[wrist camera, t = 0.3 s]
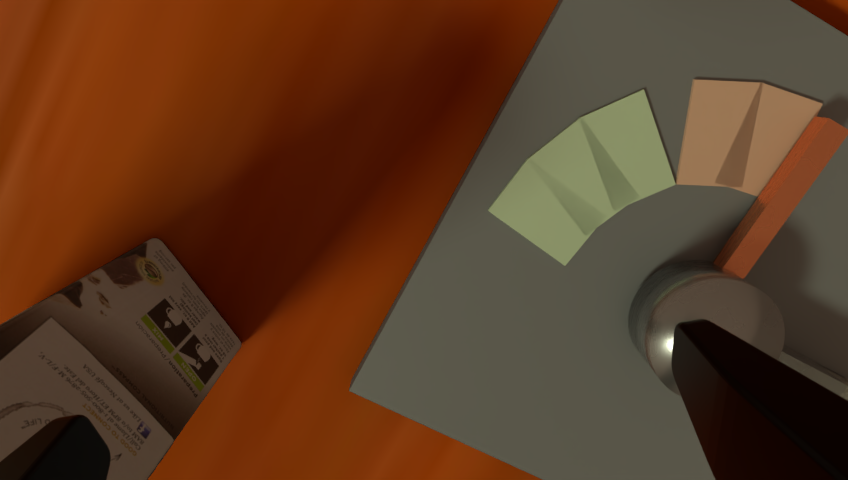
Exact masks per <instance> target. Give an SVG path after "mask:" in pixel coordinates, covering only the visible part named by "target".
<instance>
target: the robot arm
mask: <svg viewBox="0 0 848 480" xmlns="http://www.w3.org/2000/svg"><path fill="white" fill-rule="evenodd" d="M671 367H672V373H673V377H674V380H675V382H676V385H677V387H678V390H679V392H680V395H681V397H682V400H683V402H684V405H685V407H686V410H687V412H688V415H689V417H690V420H691V422H692V425H693V427H694V430H695V432H696V435H697V437H698V440H699V442H700V445H701V447H702V450H703V452H704V455H705V457H706V460H707V462H708V464H709V467H710V469H711V471H712V474H713V476H714V478H715V480H848V400H846V399H844V398H843V397H841V396H839V395H838V394H836V393H834V392H832V391H831V390H829V389H827V388H825V387H824V386H822V385H820V384H819V383H817V382H815V381H813V380H812V379H810V378H808V377H806V376H805V375H803V374H801V373H800V372H798V371H796V370H794V369H793V368H791V367H789V366H787V365H786V364H784V363H782V362H780V361H779V360H777V359H775V358H774V357H772V356H770V355H768V354H767V353H765V352H763V351H761V350H760V349H758V348H756V347H755V346H753V345H751V344H749V343H748V342H746V341H744V340H742V339H741V338H739V337H737V336H736V335H734V334H732V333H730V332H729V331H727V330H725V329H723V328H722V327H720V326H718V325H717V324H715V323H713V322H711V321H709V320H707V319H696V320H689V321H683V322H679V323H678V324H677V325H676V326H675V329H674V338H673V349H672V360H671ZM110 462H111V455H110V450H109V447H108V445H107V444H106V442H105V441H104V440H103V438H102V437H101V435H100V434H99V432H98V431H97V430H96V428H95V427H94V425H93V424H92V422H91V421H90V420H89V418H88V417H86V416H84V415H80V414H78V415H71V416H64V417H59V418H56V419H53V420H52V421H50V422H49V423H48V424H46V425H45V426H44V427H43V428H41V429H40V430H39V431H38V432H37V433H35V434H34V435H33V436H32V437H30V438H29V439H28V440H27V441H25V442H24V443H23V444H22V445H20V446H19V447H18V448H17V449H15V450H14V451H13V452H12V453H10V454H9V455H8V456H7V457H5V458H4V459H3V460H2V461H0V480H107V476H108V472H109V467H110Z"/></svg>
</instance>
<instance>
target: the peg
mask: <svg viewBox="0 0 848 480" xmlns="http://www.w3.org/2000/svg"><path fill="white" fill-rule="evenodd" d="M847 135H848V129H847V128H845V127H843V126H842V125H840V124H838V123H837V122H835V121H833V120H831V119H830V118H824V117H814V118H813V120H812V121H811V122H810V124H809V125H808V127H807V128H806V130H805V131H804V132H803V134H802V135H801V137H800V138H799V140H798V141H797V142H796V144H795V145H794V147H793V148H792V150H791V151H790V152H789V154H788V155H787V157H786V158H785V160H784V161H783V162H782V164H781V165H780V167H779V168H778V170H777V171H776V172H775V174H774V175H773V177H772V178H771V180H770V181H769V182H768V184H767V185H766V187H765V188H764V190H763V191H762V193H761V194H760V195H759V197H758V198H757V200H756V201H755V203H754V204H753V205H752V207H751V208H750V210H749V211H748V213H747V214H746V215H745V217H744V218H743V220H742V221H741V223H740V224H739V225H738V227H737V228H736V230H735V231H734V233H733V234H732V235H731V237H730V238H729V240H728V241H727V243H726V244H725V245H724V247H723V248H722V250H721V251H720V253H719V254H718V255H717V257H716V258H715V260H714V261H713V262H710V261H704V260H687V261H682V262H677V263H674V264H672V265H669V266H667V267H665V268H663V269H661V270H659V271H658V272H656V273H655V274H653V275H652V276H651V277H650V278H649V279H648V280H647V281H646V282H645V283H644V284H643V285H642V286H641V287H640V289H639V290H638V292H637V293H636V295H635V297H634V299H633V301H632V303H631V306H630V310H629V316H628V328H629V334H630V337H631V340H632V342H633V344H634V346H635V347H636V349H637V350H638V352H639V353H640V354H641V356H642V357H643V358H644V360H645V361H646V362H647V363H648V365H649V366H650V367H651V369H652V370H653V371H654V373H655V374H656V375H657V376H658V378H659V379H660V380H661V382H662V383H663V384H664V385H665V386H666V387H667V388H668V389H670V390H671V391H672V392H674V393H675V394H677V395H679V396H681V395H680V392H679V390H678V387H677V385H676V382H675V380H674V377H673V373H672V367H671V360H672V349H673V338H674V329H675V326H676V325H677V324H678V323H679V322H683V321H689V320H696V319H707V320H709V321H711V322H713V323H715V324H717V325H718V326H720V327H722V328H723V329H725V330H727V331H729V332H730V333H732V334H734V335H736V336H737V337H739V338H741V339H742V340H744V341H746V342H748V343H749V344H751V345H753V346H755V347H756V348H758V349H760V350H761V351H763V352H765V353H767V354H768V355H770V356H772V357H774V358H775V359H777V360H779V361H780V362H782V363H784V364H786V365H787V366H789V367H791V368H793V369H794V370H796V371H798V372H800V373H801V374H803V375H805V376H806V377H808V378H810V379H812V380H813V381H815V382H817V383H819V384H820V385H822V386H824V387H825V388H827V389H829V390H831V391H832V392H834V393H836V394H838V395H839V396H841V397H843V398H844V399H846V400H848V379H847V378H845V377H843V376H841V375H839V374H838V373H836V372H834V371H832V370H830V369H828V368H826V367H824V366H822V365H820V364H819V363H817V362H815V361H813V360H811V359H809V358H807V357H805V356H803V355H801V354H799V353H798V352H796V351H794V350H792V349H790V348H788V347H786V346H784V340H785V327H784V322H783V318H782V315H781V313H780V310H779V309H778V307H777V305H776V304H775V303H774V302H773V300H772V299H771V298H770V297H769V296H768V295H766V294H765V293H764V292H762V291H761V290H759V289H758V288H756V287H755V286H753V285H752V284H750V283H748V282H747V281H745V280H744V278H745V277H746V275H747V274H748V272H749V271H750V270H751V268H752V267H753V266H754V264H755V263H756V261H757V260H758V259H759V257H760V256H761V254H762V253H763V252H764V250H765V249H766V248H767V246H768V245H769V243H770V242H771V241H772V239H773V238H774V236H775V235H776V234H777V232H778V231H779V230H780V228H781V227H782V225H783V224H784V223H785V221H786V220H787V218H788V217H789V216H790V214H791V213H792V212H793V210H794V209H795V207H796V206H797V205H798V203H799V202H800V200H801V199H802V198H803V196H804V195H805V194H806V192H807V191H808V189H809V188H810V187H811V185H812V184H813V182H814V181H815V180H816V178H817V177H818V176H819V174H820V173H821V171H822V170H823V169H824V167H825V166H826V164H827V163H828V162H829V160H830V159H831V158H832V156H833V155H834V153H835V152H836V151H837V149H838V148H839V146H840V145H841V144H842V142H843V141H844V140H845V138H846V137H847Z"/></svg>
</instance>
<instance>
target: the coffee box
mask: <svg viewBox="0 0 848 480" xmlns="http://www.w3.org/2000/svg"><path fill="white" fill-rule="evenodd" d="M240 347H241V342H240V340H239V339H238V337H237V336H236V335H235V334H234V332H233V331H232V330H231V329H230V327H229V326H228V324H227V323H226V322H225V321H224V319H223V318H222V317H221V316H220V314H219V313H218V312H217V311H216V309H215V308H214V307H213V305H212V304H211V303H210V301H209V300H208V299H207V298H206V296H205V295H204V294H203V293H202V291H201V290H200V289H199V287H198V286H197V285H196V284H195V282H194V281H193V280H192V279H191V277H190V276H189V275H188V273H187V272H186V271H185V269H184V268H183V267H182V266H181V264H180V263H179V262H178V261H177V259H176V258H175V257H174V256H173V254H172V253H171V252H170V251H169V249H168V248H167V247H166V246H165V244H164V243H163V242H162V241H161V240H159V239H156V238H152V239H150V240H148V241H146V242H144V243H143V244H141V245H139V246H137V247H136V248H134V249H132V250H130V251H128V252H127V253H125V254H123V255H121V256H120V257H118V258H116V259H114V260H113V261H111V262H109V263H107V264H106V265H104V266H102V267H100V268H99V269H97V270H95V271H93V272H92V273H90V274H88V275H86V276H85V277H83V278H81V279H79V280H77V281H76V282H74V283H72V284H70V285H68V286H67V287H65V288H63V289H62V290H60V291H58V292H56V293H55V294H53V295H51V296H49V297H48V298H46V299H44V300H42V301H41V302H39V303H37V304H35V305H33V306H32V307H30V308H28V309H26V310H25V311H23V312H21V313H19V314H18V315H16V316H14V317H13V318H11V319H9V320H8V321H6V322H4V323H2V324H1V325H0V461H2V460H3V459H4V458H5V457H7V456H8V455H9V454H10V453H12V452H13V451H14V450H15V449H17V448H18V447H19V446H20V445H22V444H23V443H24V442H25V441H27V440H28V439H29V438H30V437H32V436H33V435H34V434H35V433H37V432H38V431H39V430H40V429H41V428H43V427H44V426H45V425H46V424H48V423H49V422H50V421H52V420H53V419H56V418H59V417H64V416H71V415H78V414H80V415H84V416H86V417H88V418H89V420H90V421H91V422H92V424H93V425H94V427H95V428H96V430H97V431H98V432H99V434H100V435H101V437H102V438H103V440H104V441H105V442H106V444H107V445H108V447H109V450H110V455H111V462H110V467H109V472H108V476H107V480H147V479H148V478H149V477H150V475H151V474H152V473H153V472H154V470H155V469H156V467H157V465H158V464H159V463H160V461H161V460H162V459H163V457H164V456H165V454H166V453H167V452H168V450H169V449H170V447H171V445H172V444H173V442H174V440H175V439H176V438H177V436H178V435H179V434H180V432H181V431H182V429H183V428H184V426H185V425H186V423H187V422H188V421H189V419H190V418H191V416H192V415H193V414H194V412H195V411H196V409H197V408H198V406H199V405H200V404H201V402H202V401H203V400H204V398H205V397H206V396H207V394H208V393H209V391H210V390H211V388H212V387H213V385H214V384H215V382H216V381H217V380H218V378H219V377H220V375H221V374H222V372H223V371H224V370H225V368H226V367H227V365H228V364H229V363H230V361H231V360H232V358H233V357H234V356H235V354H236V353H237V352H238V350H239V349H240Z"/></svg>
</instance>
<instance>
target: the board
mask: <svg viewBox="0 0 848 480" xmlns="http://www.w3.org/2000/svg"><path fill="white" fill-rule="evenodd" d="M814 117H824V118H830V119H831V120H833V121H835V122H837V123H838V124H840V125H842V126H843V127H845V128H847V129H848V36H847V35H845V34H844V33H842V32H840V31H839V30H837V29H836V28H834V27H832V26H831V25H829V24H827V23H826V22H824V21H823V20H821V19H819V18H818V17H816V16H815V15H813V14H811V13H810V12H808V11H806V10H805V9H803V8H802V7H800V6H798V5H797V4H795V3H794V2H792V1H790V0H559V1H558V3H557V5H556V7H555V9H554V10H553V12H552V14H551V16H550V18H549V20H548V21H547V23H546V25H545V27H544V29H543V31H542V32H541V34H540V36H539V38H538V40H537V42H536V43H535V45H534V47H533V49H532V51H531V53H530V54H529V56H528V58H527V60H526V62H525V63H524V65H523V67H522V69H521V71H520V73H519V74H518V76H517V78H516V80H515V82H514V84H513V85H512V87H511V89H510V91H509V93H508V95H507V96H506V98H505V100H504V102H503V104H502V106H501V107H500V109H499V111H498V113H497V115H496V117H495V118H494V120H493V122H492V124H491V126H490V127H489V129H488V131H487V133H486V135H485V137H484V138H483V140H482V142H481V144H480V146H479V148H478V149H477V151H476V153H475V155H474V157H473V159H472V160H471V162H470V164H469V166H468V168H467V170H466V171H465V173H464V175H463V177H462V179H461V180H460V182H459V184H458V186H457V188H456V190H455V191H454V193H453V195H452V197H451V199H450V201H449V202H448V204H447V206H446V208H445V210H444V212H443V213H442V215H441V217H440V219H439V221H438V223H437V224H436V226H435V228H434V230H433V232H432V233H431V235H430V237H429V239H428V241H427V243H426V244H425V246H424V248H423V250H422V252H421V254H420V255H419V257H418V259H417V261H416V263H415V265H414V266H413V268H412V270H411V272H410V274H409V276H408V277H407V279H406V281H405V283H404V285H403V286H402V288H401V290H400V292H399V294H398V296H397V297H396V299H395V301H394V303H393V305H392V307H391V308H390V310H389V312H388V314H387V316H386V318H385V319H384V321H383V323H382V325H381V327H380V329H379V330H378V332H377V334H376V336H375V338H374V339H373V341H372V343H371V345H370V347H369V349H368V350H367V352H366V354H365V356H364V358H363V360H362V361H361V363H360V365H359V367H358V369H357V371H356V372H355V374H354V376H353V378H352V380H351V384H350V388H349V391H351V392H353V393H355V394H357V395H359V396H362V397H364V398H366V399H368V400H370V401H372V402H375V403H377V404H379V405H381V406H383V407H386V408H388V409H390V410H392V411H394V412H396V413H399V414H401V415H403V416H405V417H407V418H410V419H412V420H414V421H416V422H418V423H420V424H423V425H425V426H427V427H429V428H431V429H434V430H436V431H438V432H440V433H442V434H445V435H447V436H449V437H451V438H453V439H455V440H458V441H460V442H462V443H464V444H466V445H469V446H471V447H473V448H475V449H477V450H479V451H482V452H484V453H486V454H488V455H490V456H493V457H495V458H497V459H499V460H501V461H503V462H506V463H508V464H510V465H512V466H514V467H517V468H519V469H521V470H523V471H525V472H527V473H530V474H532V475H534V476H536V477H538V478H541V479H543V480H715V478H714V476H713V474H712V471H711V469H710V467H709V464H708V462H707V460H706V457H705V455H704V452H703V450H702V447H701V445H700V442H699V440H698V437H697V435H696V432H695V430H694V427H693V425H692V422H691V420H690V417H689V415H688V412H687V410H686V407H685V405H684V402H683V400H682V397H681V396H679V395H677V394H675V393H674V392H672V391H671V390H670V389H668V388H667V387H666V386H665V385H664V384H663V383H662V382H661V380H660V379H659V378H658V376H657V375H656V374H655V373H654V371H653V370H652V369H651V367H650V366H649V365H648V363H647V362H646V361H645V360H644V358H643V357H642V356H641V354H640V353H639V352H638V350H637V349H636V347H635V346H634V344H633V342H632V340H631V337H630V334H629V328H628V316H629V310H630V306H631V303H632V301H633V299H634V297H635V295H636V293H637V292H638V290H639V289H640V287H641V286H642V285H643V284H644V283H645V282H646V281H647V280H648V279H649V278H650V277H651V276H652V275H653V274H655V273H656V272H658V271H659V270H661V269H663V268H665V267H667V266H669V265H672V264H674V263H677V262H682V261H687V260H704V261H710V262H713V261H714V260H715V258H716V257H717V255H718V254H719V253H720V251H721V250H722V248H723V247H724V245H725V244H726V243H727V241H728V240H729V238H730V237H731V235H732V234H733V233H734V231H735V230H736V228H737V227H738V225H739V224H740V223H741V221H742V220H743V218H744V217H745V215H746V214H747V213H748V211H749V210H750V208H751V207H752V205H753V204H754V203H755V201H756V200H757V198H758V197H759V195H760V194H761V193H762V191H763V190H764V188H765V187H766V185H767V184H768V182H769V181H770V180H771V178H772V177H773V175H774V174H775V172H776V171H777V170H778V168H779V167H780V165H781V164H782V162H783V161H784V160H785V158H786V157H787V155H788V154H789V152H790V151H791V150H792V148H793V147H794V145H795V144H796V142H797V141H798V140H799V138H800V137H801V135H802V134H803V132H804V131H805V130H806V128H807V127H808V125H809V124H810V122H811V121H812V120H813V118H814ZM744 280H745V281H747V282H748V283H750V284H752V285H753V286H755V287H756V288H758V289H759V290H761V291H762V292H764V293H765V294H766V295H768V296H769V297H770V298H771V299H772V300H773V302H774V303H775V304H776V305H777V307H778V309H779V310H780V313H781V315H782V318H783V322H784V327H785V340H784V346H786V347H788V348H790V349H792V350H794V351H796V352H798V353H799V354H801V355H803V356H805V357H807V358H809V359H811V360H813V361H815V362H817V363H819V364H820V365H822V366H824V367H826V368H828V369H830V370H832V371H834V372H836V373H838V374H839V375H841V376H843V377H845V378H847V379H848V135H847V137H846V138H845V140H844V141H843V142H842V144H841V145H840V146H839V148H838V149H837V151H836V152H835V153H834V155H833V156H832V158H831V159H830V160H829V162H828V163H827V164H826V166H825V167H824V169H823V170H822V171H821V173H820V174H819V176H818V177H817V178H816V180H815V181H814V182H813V184H812V185H811V187H810V188H809V189H808V191H807V192H806V194H805V195H804V196H803V198H802V199H801V200H800V202H799V203H798V205H797V206H796V207H795V209H794V210H793V212H792V213H791V214H790V216H789V217H788V218H787V220H786V221H785V223H784V224H783V225H782V227H781V228H780V230H779V231H778V232H777V234H776V235H775V236H774V238H773V239H772V241H771V242H770V243H769V245H768V246H767V248H766V249H765V250H764V252H763V253H762V254H761V256H760V257H759V259H758V260H757V261H756V263H755V264H754V266H753V267H752V268H751V270H750V271H749V272H748V274H747V275H746V277H745V278H744Z"/></svg>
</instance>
